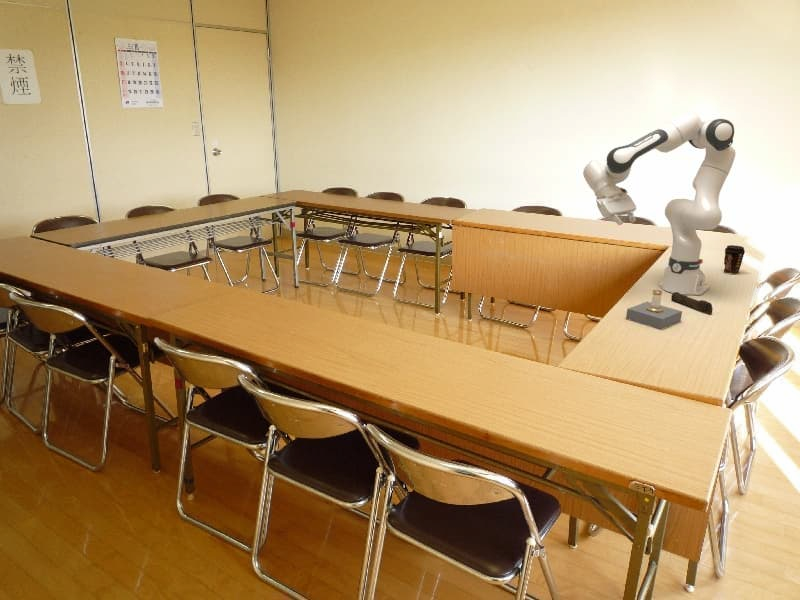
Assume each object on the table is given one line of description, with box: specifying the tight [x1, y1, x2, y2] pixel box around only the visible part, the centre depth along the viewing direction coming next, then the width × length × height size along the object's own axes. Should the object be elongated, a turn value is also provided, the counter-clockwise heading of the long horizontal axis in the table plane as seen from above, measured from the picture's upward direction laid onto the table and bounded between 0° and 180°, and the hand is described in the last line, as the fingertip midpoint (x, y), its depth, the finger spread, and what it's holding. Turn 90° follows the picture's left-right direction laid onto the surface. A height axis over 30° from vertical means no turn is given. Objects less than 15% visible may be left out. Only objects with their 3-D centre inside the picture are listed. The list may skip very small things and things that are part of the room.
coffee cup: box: [723, 244, 745, 275], centre depth 282 cm, size 9×8×13 cm
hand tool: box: [670, 292, 713, 315], centre depth 234 cm, size 19×4×5 cm, turn 18°
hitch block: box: [625, 301, 683, 330], centre depth 219 cm, size 14×14×4 cm
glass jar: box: [647, 289, 663, 313], centre depth 218 cm, size 6×6×11 cm
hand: (627, 222), depth 237 cm, fingers open, 8 cm apart
